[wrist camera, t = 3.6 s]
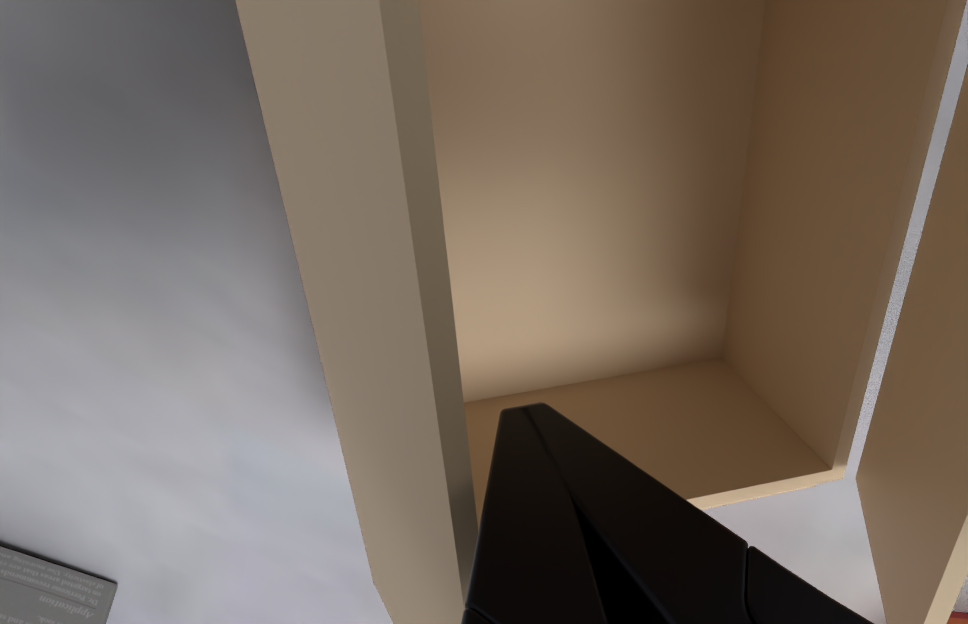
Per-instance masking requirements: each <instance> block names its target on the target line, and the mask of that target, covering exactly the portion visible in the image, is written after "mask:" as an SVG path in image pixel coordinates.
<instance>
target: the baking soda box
mask: <svg viewBox="0 0 968 624" xmlns="http://www.w3.org/2000/svg"><path fill="white" fill-rule="evenodd" d="M947 624H968V613H962V612H951V614H950V617H949V619H948V621H947Z"/></svg>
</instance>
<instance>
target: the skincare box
mask: <svg viewBox="0 0 968 624" xmlns="http://www.w3.org/2000/svg"><path fill="white" fill-rule="evenodd" d="M117 588H118V586H117V585H116V584H114V583H111V582H108V581H105V580H102V579H99V578H96V577H93V576H90V575H87V574H84V573H81V572H78V571H75V570H72V569H69V568H66V567H62V566H59V565H56V564H53V563H50V562H47V561H44V560H41V559H38V558H35V557H32V556H29V555H26V554H23V553H19V552H16V551H13V550H10V549H7V548H4V547H1V546H0V624H106V622H107V618H108V615H109V612H110V609H111V606H112V602H113V599H114V596H115V593H116V590H117Z"/></svg>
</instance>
